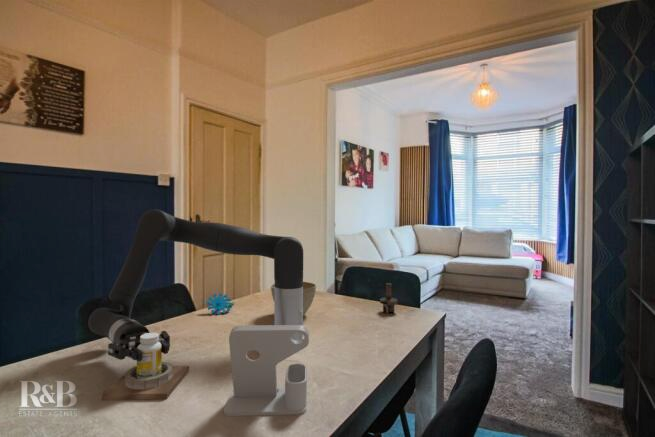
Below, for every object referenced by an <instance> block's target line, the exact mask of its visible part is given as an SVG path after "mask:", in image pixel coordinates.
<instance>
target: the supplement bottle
mask: <svg viewBox="0 0 655 437" xmlns="http://www.w3.org/2000/svg"><path fill="white" fill-rule="evenodd" d="M159 335H160V333H158V332H150V333H146V334H143V335H141V336H140V343H141V344H140V345H139V346H138V347H137V348H138V349H139V350H140V351H141V352H142V360H141V361H137V360H136V366H137V378H150V377H155V376H158V375H160V374H161V366H162V362H163V361H162V356H163V353H162V345H161V343H160V342H158V340H159Z"/></svg>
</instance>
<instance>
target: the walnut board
mask: <svg viewBox="0 0 655 437" xmlns="http://www.w3.org/2000/svg"><path fill="white" fill-rule="evenodd" d="M189 372H190V365H173V364H172V363H169V362H166V361H162V366H161V374H160V375H158V376H155V377H150V378H137V365H136V366H133V367H131V368H129V369H128V370H127V371H126V372H125V374H124V375H123V376H121V377H120V378H119V379H118V380H117V381H115V383H113V384H112V385H111V386H110V387H108V389H105V391H104V392H103V393H102V394H101V400H102V401H103V400H104V401H107V400H108V401H109V400H167V399H168V398H169V397H170V396H171V394H172V393H173V391H175V389H176V388H177V387H178V386H179V384H180V383H181V382H182V381H183V379H184V378H185V377H186V376H187V375H188V374H189Z"/></svg>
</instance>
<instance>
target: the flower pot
mask: <svg viewBox="0 0 655 437" xmlns="http://www.w3.org/2000/svg"><path fill="white" fill-rule="evenodd" d="M270 289H271V290H270V292H271V295H272V296H271V297H272V299H273V302H274V301H275V283H273V284H271V285H270ZM316 289H317V285H316V284H315V283H314V282H313V283H312V282H308V281H303V316H305V315H306V313H307V312H308V310H309V309H310V307H311V306H312V303H313V302H314V299H315V296H316Z"/></svg>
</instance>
